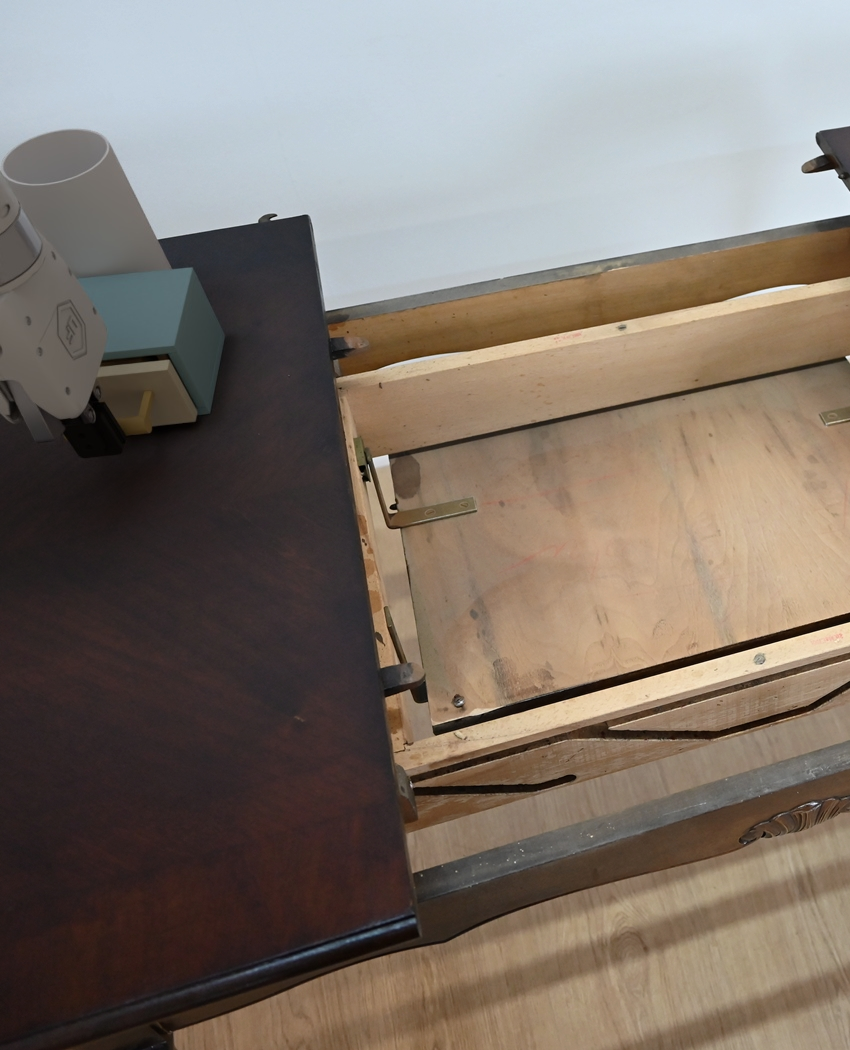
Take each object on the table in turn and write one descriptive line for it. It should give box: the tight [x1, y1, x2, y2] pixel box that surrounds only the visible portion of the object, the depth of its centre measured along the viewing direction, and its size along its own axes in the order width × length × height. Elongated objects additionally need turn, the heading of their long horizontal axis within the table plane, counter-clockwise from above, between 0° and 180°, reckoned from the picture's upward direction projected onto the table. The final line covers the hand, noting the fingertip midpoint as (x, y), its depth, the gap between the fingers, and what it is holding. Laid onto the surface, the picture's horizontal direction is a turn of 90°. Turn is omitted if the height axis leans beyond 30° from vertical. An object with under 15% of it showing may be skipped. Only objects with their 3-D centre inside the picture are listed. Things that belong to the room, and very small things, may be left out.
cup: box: [0, 128, 173, 279], centre depth 89 cm, size 8×8×16 cm
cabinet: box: [77, 266, 226, 416], centre depth 86 cm, size 10×11×8 cm
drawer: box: [62, 354, 198, 443], centre depth 84 cm, size 13×9×6 cm
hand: (104, 448), depth 78 cm, fingers closed
